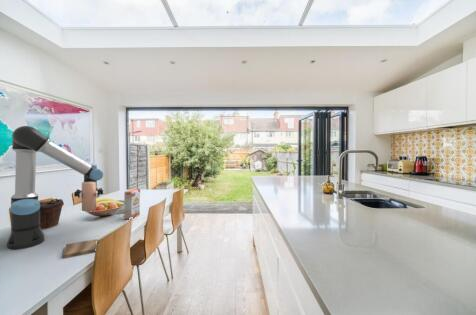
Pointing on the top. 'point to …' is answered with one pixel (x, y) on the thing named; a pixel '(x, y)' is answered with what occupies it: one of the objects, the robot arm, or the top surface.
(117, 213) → the grey carved relief
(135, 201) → the cracker box
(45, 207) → the brown tapered bucket
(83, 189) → the terracotta canister
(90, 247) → the cutting board
